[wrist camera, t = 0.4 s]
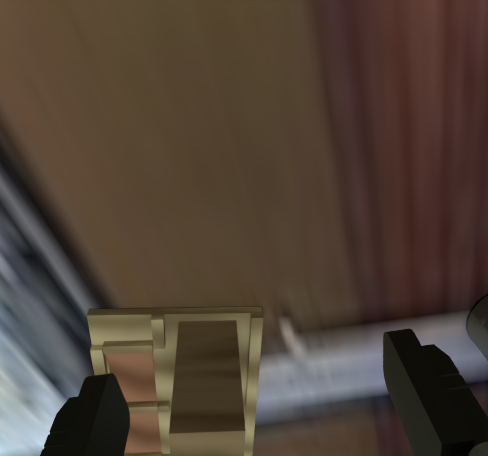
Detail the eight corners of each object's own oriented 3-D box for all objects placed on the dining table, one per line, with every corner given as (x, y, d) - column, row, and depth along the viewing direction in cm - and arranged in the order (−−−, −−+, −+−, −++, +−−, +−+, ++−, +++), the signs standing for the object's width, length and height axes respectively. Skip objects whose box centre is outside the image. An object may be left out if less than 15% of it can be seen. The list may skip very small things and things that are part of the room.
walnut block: (178, 321, 45) (168, 433, 34) (236, 320, 46) (245, 430, 34) (181, 375, 49) (172, 493, 38) (234, 374, 49) (241, 489, 38)
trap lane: (89, 309, 45) (76, 344, 40) (261, 306, 46) (266, 339, 42) (116, 468, 58) (108, 507, 54) (249, 462, 59) (252, 500, 55)
